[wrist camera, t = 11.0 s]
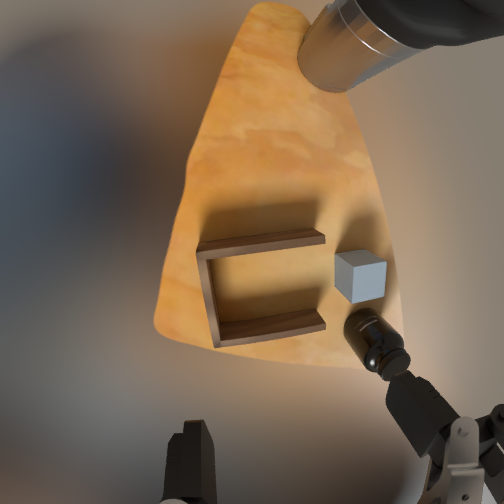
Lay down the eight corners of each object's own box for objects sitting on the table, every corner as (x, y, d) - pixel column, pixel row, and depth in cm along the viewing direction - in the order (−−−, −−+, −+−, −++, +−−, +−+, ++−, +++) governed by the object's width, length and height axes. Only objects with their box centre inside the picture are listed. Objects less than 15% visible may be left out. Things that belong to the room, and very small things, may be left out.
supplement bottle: (357, 301, 40) (398, 341, 28) (384, 314, 41) (425, 351, 30) (334, 336, 41) (366, 383, 29) (362, 346, 42) (396, 389, 31)
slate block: (334, 253, 37) (353, 267, 31) (364, 248, 37) (386, 261, 32) (334, 286, 38) (351, 303, 33) (363, 280, 39) (383, 296, 33)
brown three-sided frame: (198, 242, 34) (195, 252, 30) (312, 228, 36) (325, 235, 31) (214, 330, 38) (214, 348, 34) (315, 314, 39) (325, 329, 35)
